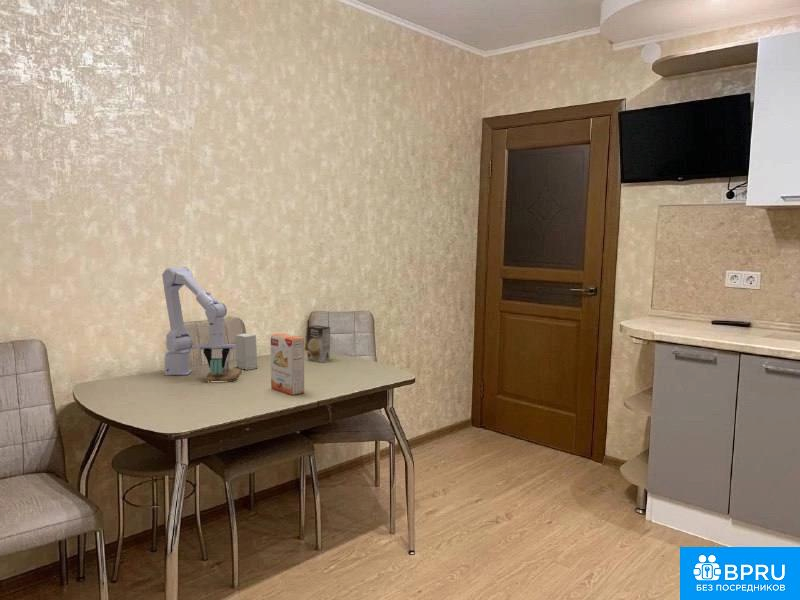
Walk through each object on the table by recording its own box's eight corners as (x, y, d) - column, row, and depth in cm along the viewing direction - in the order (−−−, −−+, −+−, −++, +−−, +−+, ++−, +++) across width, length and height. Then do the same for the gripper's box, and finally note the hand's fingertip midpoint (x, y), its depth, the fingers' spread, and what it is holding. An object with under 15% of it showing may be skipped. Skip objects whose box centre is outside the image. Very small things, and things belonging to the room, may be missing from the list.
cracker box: (270, 388, 238) (269, 334, 236) (283, 386, 242) (283, 332, 240) (291, 395, 228) (291, 339, 226) (304, 393, 232) (304, 337, 230)
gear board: (204, 382, 246) (204, 371, 246) (212, 372, 264) (212, 361, 263) (235, 382, 248) (235, 370, 247) (241, 372, 265) (241, 361, 265)
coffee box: (306, 360, 291) (306, 326, 290) (315, 358, 297) (315, 324, 295) (321, 363, 287) (322, 328, 285) (330, 360, 292) (330, 326, 290)
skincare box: (257, 368, 272) (257, 335, 271) (245, 370, 268) (245, 336, 267) (247, 365, 278) (247, 332, 277) (235, 367, 274) (235, 333, 273)
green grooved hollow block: (210, 373, 248) (209, 360, 247) (212, 370, 254) (212, 357, 253) (221, 373, 248) (221, 360, 248) (223, 370, 254) (223, 357, 254)
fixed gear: (211, 372, 257) (211, 361, 256) (214, 369, 263) (214, 358, 262) (227, 372, 257) (227, 360, 257) (229, 369, 264) (229, 357, 263)
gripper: (195, 335, 245) (196, 369, 246) (233, 335, 246) (234, 369, 248) (199, 332, 252) (199, 365, 253) (236, 332, 253) (236, 365, 255)
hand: (217, 367), depth 251 cm, fingers closed on green grooved hollow block, 4 cm apart
